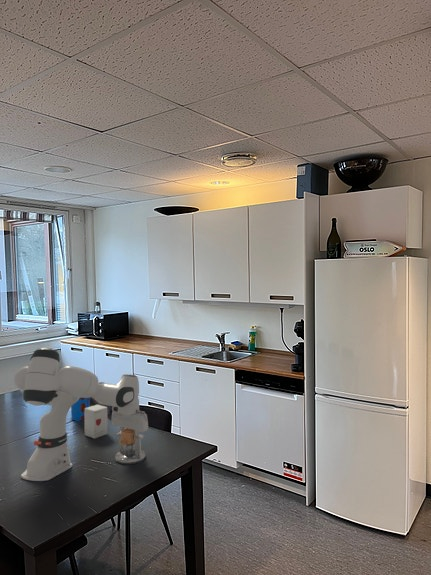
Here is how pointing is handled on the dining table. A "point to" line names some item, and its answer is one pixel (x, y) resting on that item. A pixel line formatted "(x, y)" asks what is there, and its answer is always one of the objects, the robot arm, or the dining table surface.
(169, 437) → the dining table surface
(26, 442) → the dining table surface
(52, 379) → the robot arm
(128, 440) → the orange lumpy block
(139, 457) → the pronged peg stand
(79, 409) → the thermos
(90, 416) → the supplement box
